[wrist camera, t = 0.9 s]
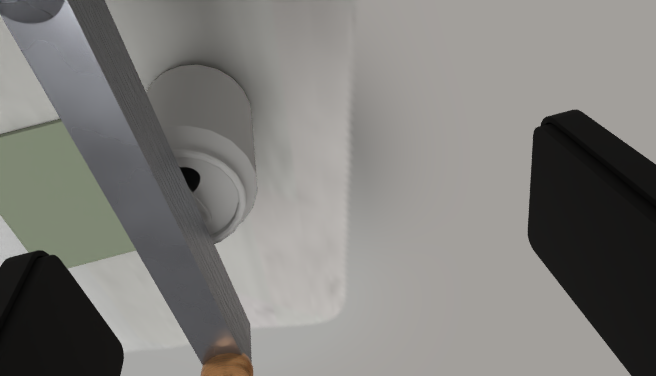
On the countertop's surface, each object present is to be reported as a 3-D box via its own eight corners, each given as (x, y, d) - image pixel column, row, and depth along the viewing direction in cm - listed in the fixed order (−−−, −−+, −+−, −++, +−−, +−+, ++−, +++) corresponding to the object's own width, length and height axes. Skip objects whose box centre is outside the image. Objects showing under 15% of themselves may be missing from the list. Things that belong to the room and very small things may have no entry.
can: (211, 39, 32) (202, 113, 22) (271, 125, 36) (285, 220, 26) (120, 95, 33) (72, 189, 23) (187, 173, 37) (171, 281, 28)
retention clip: (89, -90, 26) (-82, -45, 12) (136, -101, 26) (20, -70, 12) (218, 214, 38) (210, 419, 24) (250, 206, 39) (260, 405, 24)
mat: (-44, 145, 33) (-49, 150, 33) (97, 109, 34) (95, 112, 33) (47, 269, 40) (45, 274, 40) (164, 238, 40) (164, 242, 40)
